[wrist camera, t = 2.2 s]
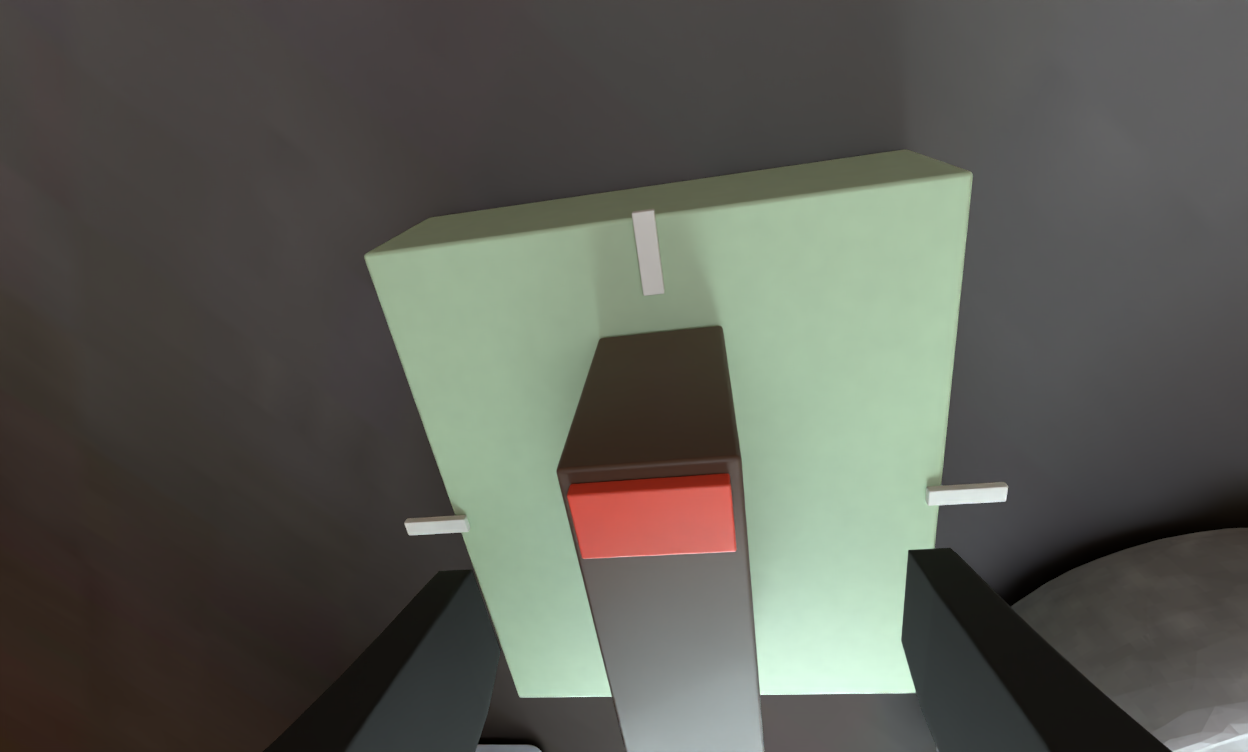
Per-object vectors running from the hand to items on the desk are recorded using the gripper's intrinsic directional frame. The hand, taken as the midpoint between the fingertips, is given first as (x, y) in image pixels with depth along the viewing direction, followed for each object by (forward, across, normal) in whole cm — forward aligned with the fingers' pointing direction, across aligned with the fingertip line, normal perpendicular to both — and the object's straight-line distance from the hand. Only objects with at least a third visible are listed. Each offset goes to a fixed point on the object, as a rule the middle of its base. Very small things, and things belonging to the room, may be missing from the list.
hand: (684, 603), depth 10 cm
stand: (+6, 0, 0) cm, 6 cm away
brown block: (+2, 0, 0) cm, 2 cm away
